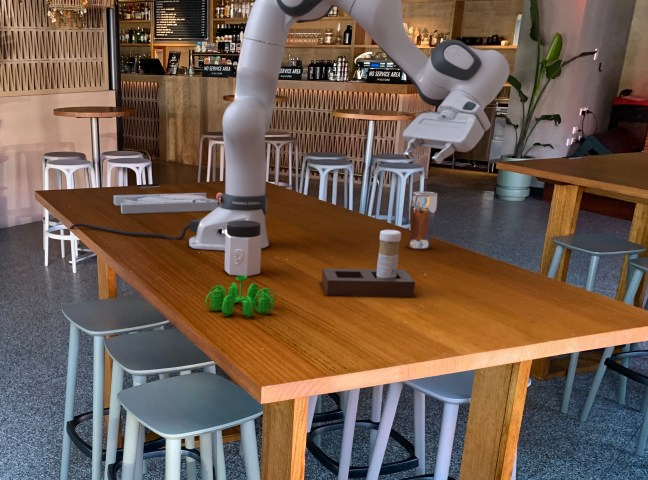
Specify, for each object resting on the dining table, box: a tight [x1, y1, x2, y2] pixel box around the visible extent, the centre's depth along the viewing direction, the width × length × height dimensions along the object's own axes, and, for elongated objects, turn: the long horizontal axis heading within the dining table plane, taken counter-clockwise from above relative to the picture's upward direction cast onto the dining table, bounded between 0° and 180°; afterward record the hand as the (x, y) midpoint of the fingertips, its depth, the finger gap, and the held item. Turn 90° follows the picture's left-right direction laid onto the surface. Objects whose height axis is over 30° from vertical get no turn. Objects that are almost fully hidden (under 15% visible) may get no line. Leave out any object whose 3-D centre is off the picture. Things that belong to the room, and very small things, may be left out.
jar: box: [224, 220, 262, 278], centre depth 192 cm, size 9×8×12 cm
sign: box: [113, 192, 219, 215], centre depth 278 cm, size 34×3×20 cm
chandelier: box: [205, 276, 276, 318], centre depth 164 cm, size 15×15×7 cm
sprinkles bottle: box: [376, 229, 402, 279], centre depth 178 cm, size 5×5×14 cm
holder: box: [321, 267, 416, 298], centre depth 180 cm, size 11×19×4 cm, turn 88°
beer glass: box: [407, 190, 438, 251], centre depth 218 cm, size 7×7×15 cm
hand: (420, 159), depth 183 cm, fingers open, 8 cm apart
